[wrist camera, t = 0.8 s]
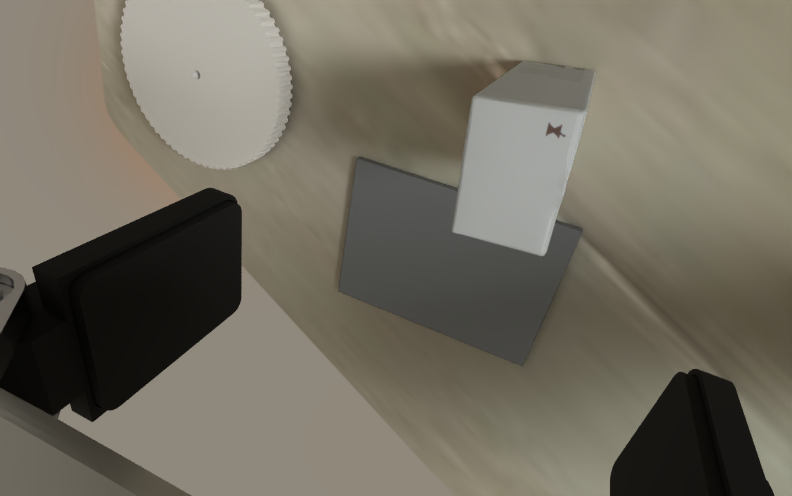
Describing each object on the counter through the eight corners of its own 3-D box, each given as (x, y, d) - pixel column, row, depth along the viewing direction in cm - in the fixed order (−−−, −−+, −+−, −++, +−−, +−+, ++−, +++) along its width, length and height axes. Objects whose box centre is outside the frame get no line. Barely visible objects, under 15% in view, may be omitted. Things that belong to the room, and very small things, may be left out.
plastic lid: (270, -60, 30) (245, -65, 28) (319, 155, 35) (301, 164, 33) (122, -14, 35) (92, -15, 33) (184, 165, 41) (162, 174, 39)
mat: (582, 228, 30) (582, 231, 29) (523, 362, 36) (522, 366, 36) (360, 156, 34) (356, 158, 33) (341, 288, 40) (338, 291, 39)
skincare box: (520, 58, 27) (470, 89, 17) (597, 69, 26) (592, 109, 16) (500, 159, 30) (447, 234, 20) (568, 173, 29) (548, 260, 19)
